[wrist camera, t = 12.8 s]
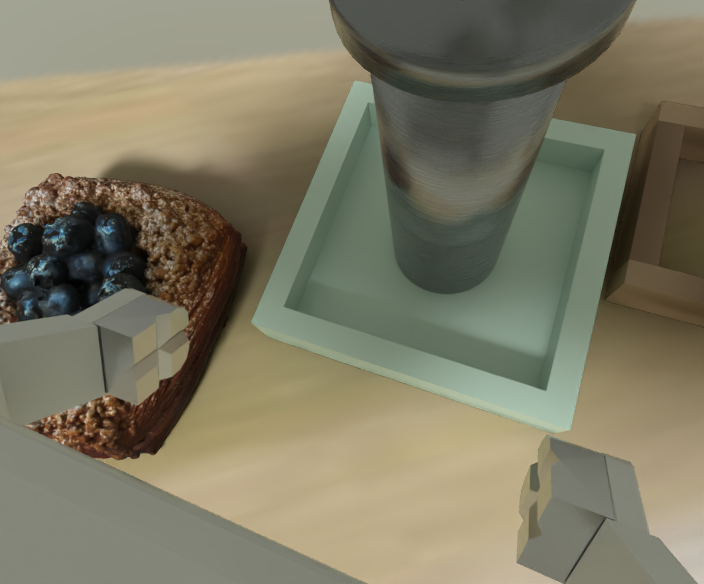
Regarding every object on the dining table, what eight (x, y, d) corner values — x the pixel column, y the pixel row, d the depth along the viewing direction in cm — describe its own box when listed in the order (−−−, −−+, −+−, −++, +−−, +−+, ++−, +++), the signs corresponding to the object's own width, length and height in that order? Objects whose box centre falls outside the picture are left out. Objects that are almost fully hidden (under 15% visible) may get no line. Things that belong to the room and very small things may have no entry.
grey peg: (528, 204, 20) (687, -170, 8) (494, 325, 19) (626, 86, 7) (403, 174, 22) (380, -186, 10) (362, 286, 20) (272, 26, 8)
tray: (613, 168, 21) (636, 133, 19) (551, 433, 18) (570, 430, 16) (360, 115, 24) (354, 80, 22) (269, 337, 21) (250, 322, 19)
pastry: (-32, 403, 22) (-181, 385, 17) (89, 183, 25) (-3, 108, 20) (170, 487, 20) (73, 498, 14) (276, 232, 23) (230, 160, 17)
